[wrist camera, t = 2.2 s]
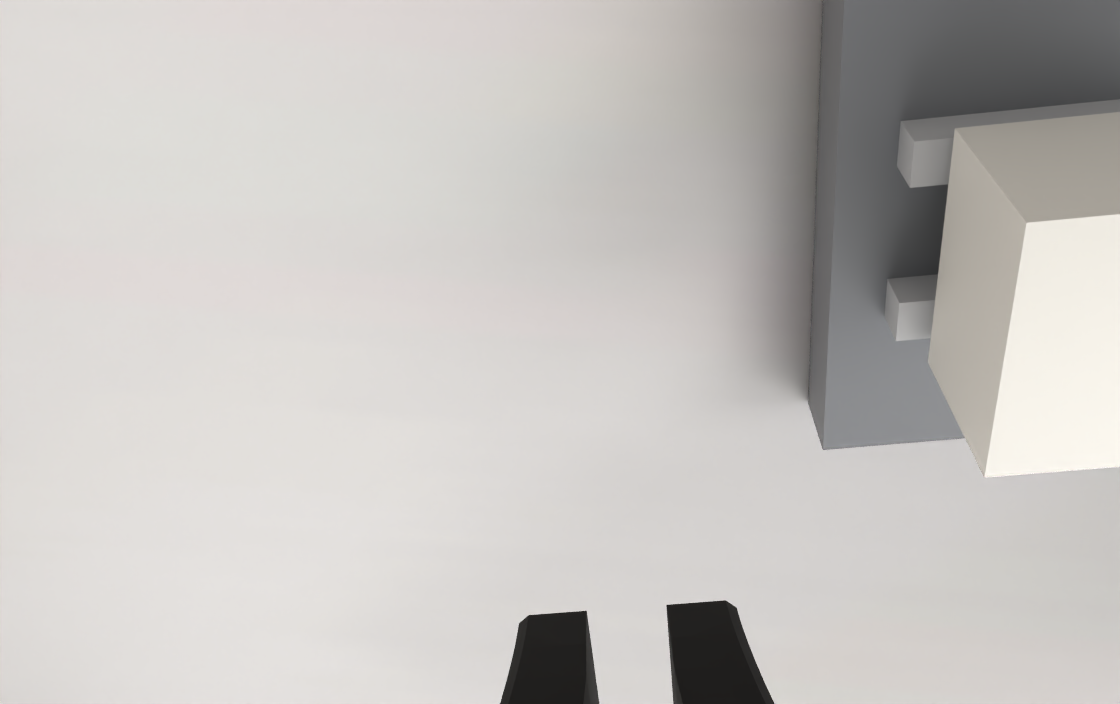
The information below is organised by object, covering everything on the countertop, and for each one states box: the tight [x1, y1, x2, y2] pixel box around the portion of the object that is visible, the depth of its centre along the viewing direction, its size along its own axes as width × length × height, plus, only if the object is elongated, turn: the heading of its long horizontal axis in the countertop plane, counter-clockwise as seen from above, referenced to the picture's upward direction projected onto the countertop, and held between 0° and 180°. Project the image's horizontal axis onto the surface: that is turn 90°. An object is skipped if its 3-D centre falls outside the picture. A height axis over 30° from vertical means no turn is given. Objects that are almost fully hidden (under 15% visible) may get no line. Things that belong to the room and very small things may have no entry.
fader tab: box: [928, 112, 1120, 478], centre depth 16 cm, size 4×4×4 cm
